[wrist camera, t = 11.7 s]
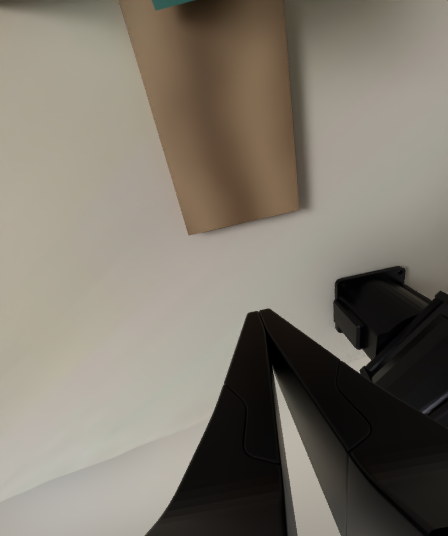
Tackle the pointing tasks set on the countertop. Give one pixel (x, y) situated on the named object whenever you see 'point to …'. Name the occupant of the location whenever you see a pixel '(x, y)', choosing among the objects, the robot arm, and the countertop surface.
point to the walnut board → (220, 105)
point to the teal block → (167, 3)
